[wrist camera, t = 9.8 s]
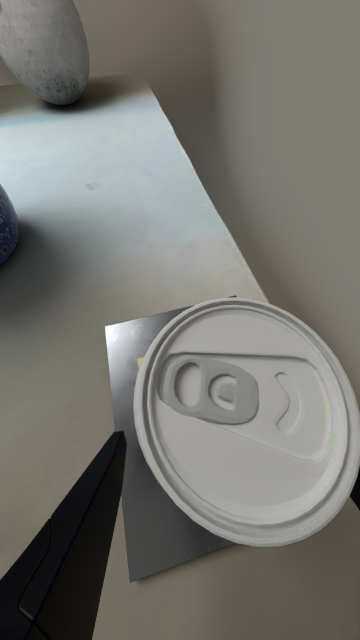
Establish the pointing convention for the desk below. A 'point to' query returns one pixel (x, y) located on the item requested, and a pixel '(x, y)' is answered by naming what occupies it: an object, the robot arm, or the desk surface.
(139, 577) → the plate
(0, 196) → the planter
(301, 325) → the beverage can
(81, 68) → the moon model
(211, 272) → the desk surface
